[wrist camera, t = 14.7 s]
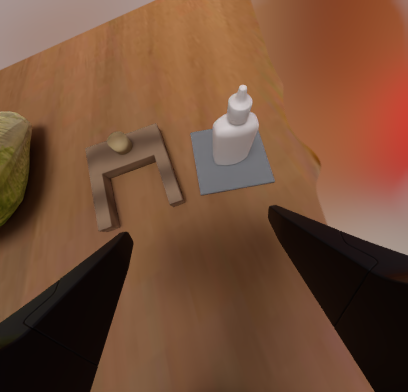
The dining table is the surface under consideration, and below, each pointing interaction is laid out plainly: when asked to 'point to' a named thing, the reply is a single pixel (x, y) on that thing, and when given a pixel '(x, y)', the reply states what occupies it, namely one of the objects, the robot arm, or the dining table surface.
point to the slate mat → (229, 166)
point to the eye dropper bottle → (235, 130)
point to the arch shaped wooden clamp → (127, 169)
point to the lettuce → (13, 161)
